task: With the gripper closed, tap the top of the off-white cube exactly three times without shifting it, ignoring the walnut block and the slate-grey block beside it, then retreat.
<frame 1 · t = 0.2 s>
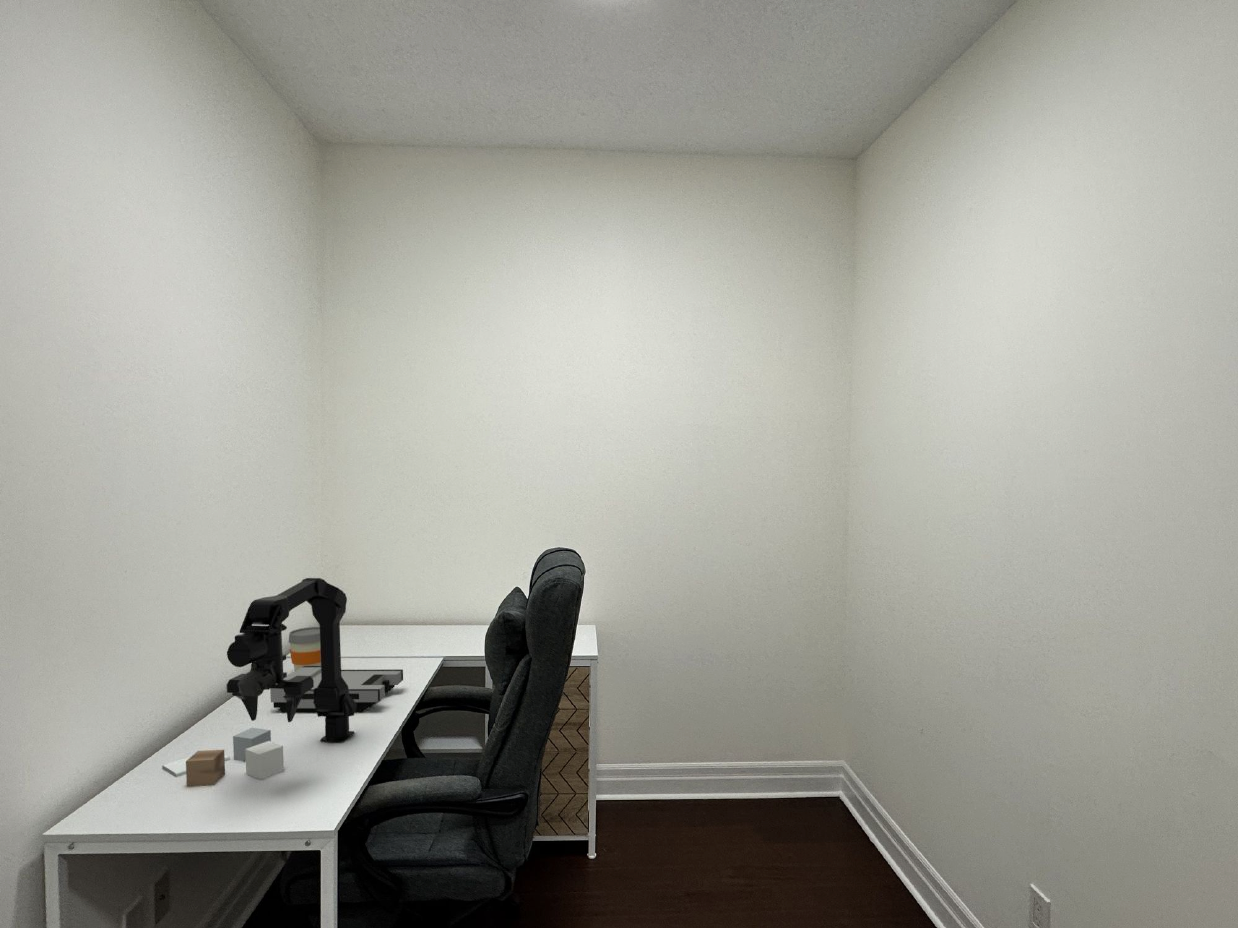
hand: (271, 720, 177), 14 cm above the table, fingers open, 9 cm apart
game console: (340, 703, 233), on the table
off-white cube: (265, 772, 183), on the table
walnut block: (206, 780, 179), on the table
external hard drive: (196, 767, 189), on the table
reusable coffee cup: (310, 675, 261), on the table
slate-grey block: (252, 756, 193), on the table
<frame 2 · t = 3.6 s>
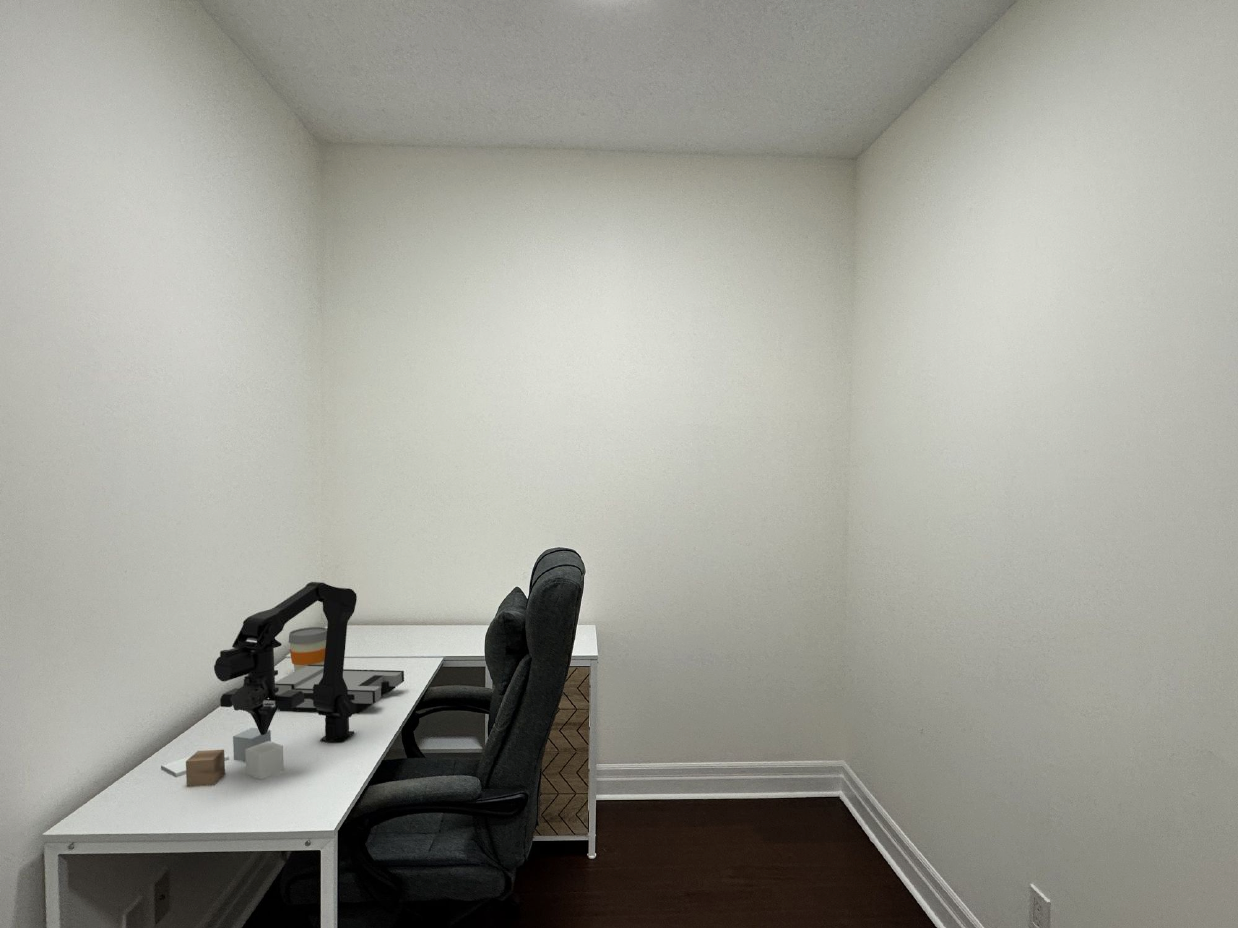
hand: (263, 734, 183), 9 cm above the table, fingers closed
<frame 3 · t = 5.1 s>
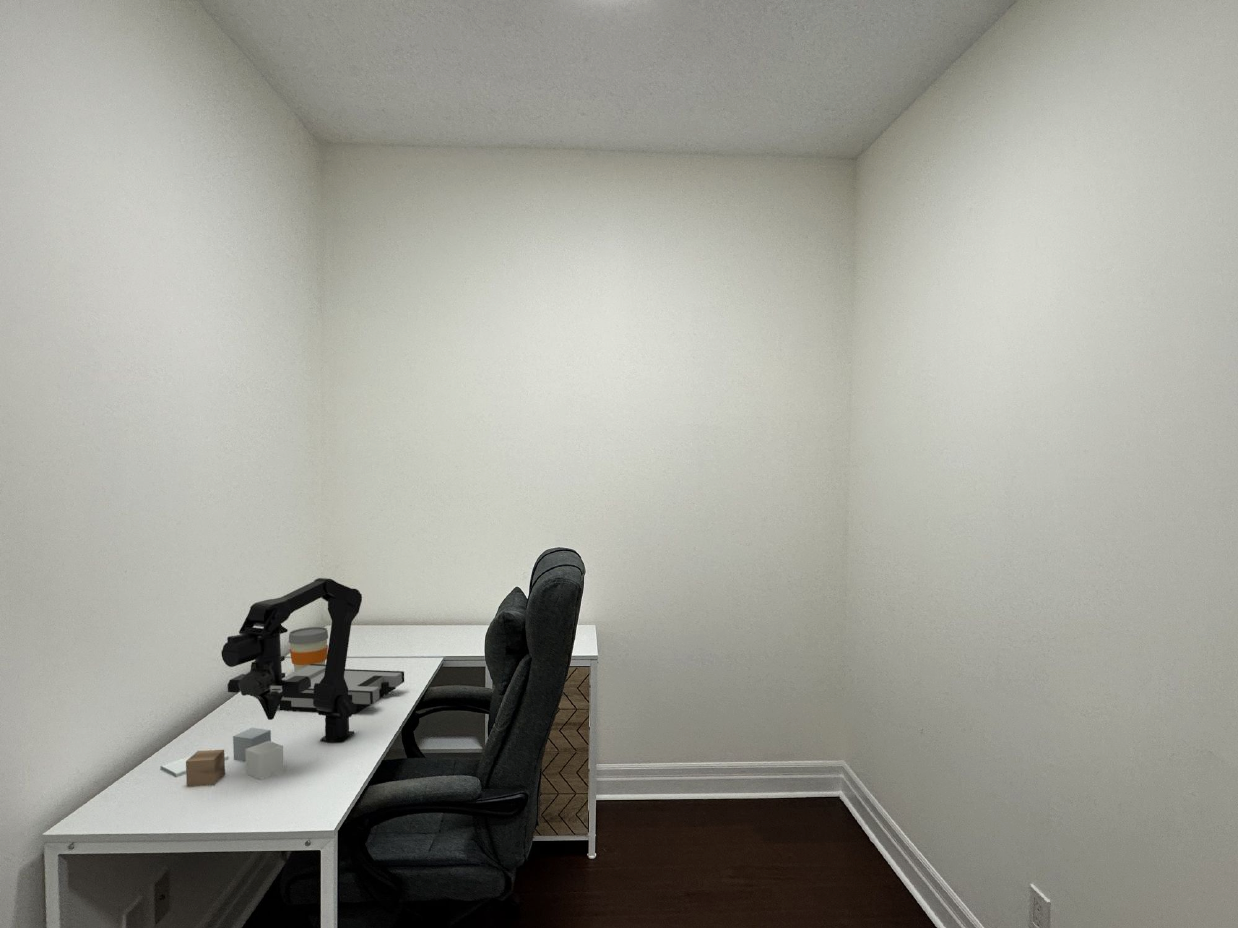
hand: (270, 719, 185), 12 cm above the table, fingers closed
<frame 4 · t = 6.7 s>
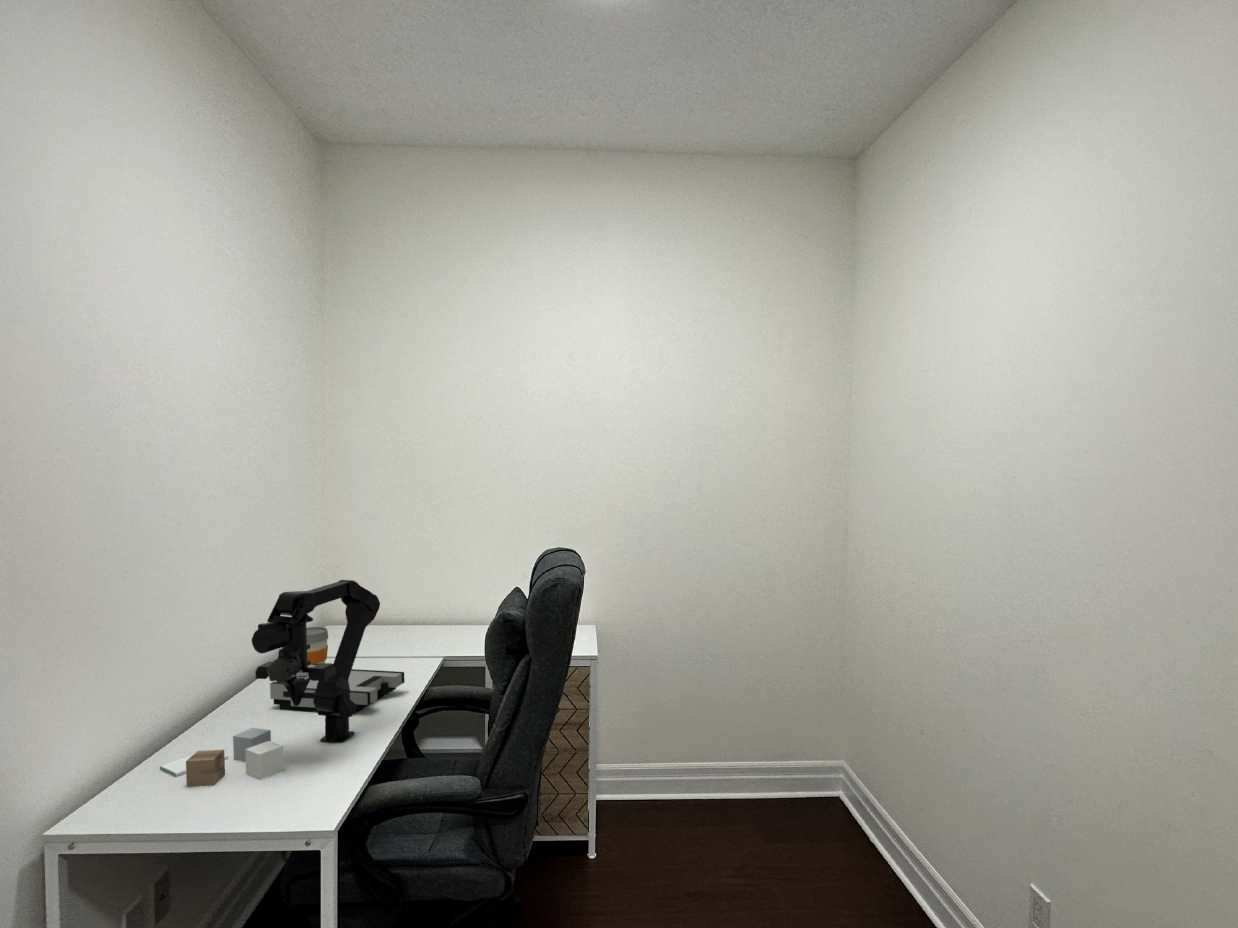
hand: (296, 705, 191), 13 cm above the table, fingers closed
at the end: off-white cube moved 0.3 cm from its start; off-white cube tilted 0°; walnut block moved 0.1 cm from its start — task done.
